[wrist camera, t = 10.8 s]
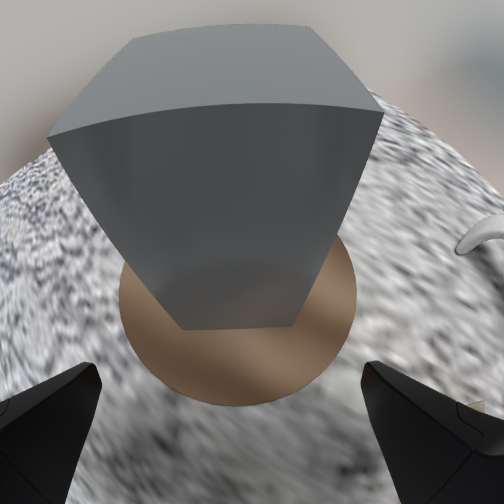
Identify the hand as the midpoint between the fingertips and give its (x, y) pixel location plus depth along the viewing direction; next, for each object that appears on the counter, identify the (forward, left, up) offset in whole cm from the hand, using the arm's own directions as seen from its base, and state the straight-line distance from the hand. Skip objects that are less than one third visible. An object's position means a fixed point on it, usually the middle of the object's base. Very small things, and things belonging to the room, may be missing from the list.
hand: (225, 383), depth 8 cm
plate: (+6, +3, -8) cm, 11 cm away
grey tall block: (+6, +3, -7) cm, 10 cm away
